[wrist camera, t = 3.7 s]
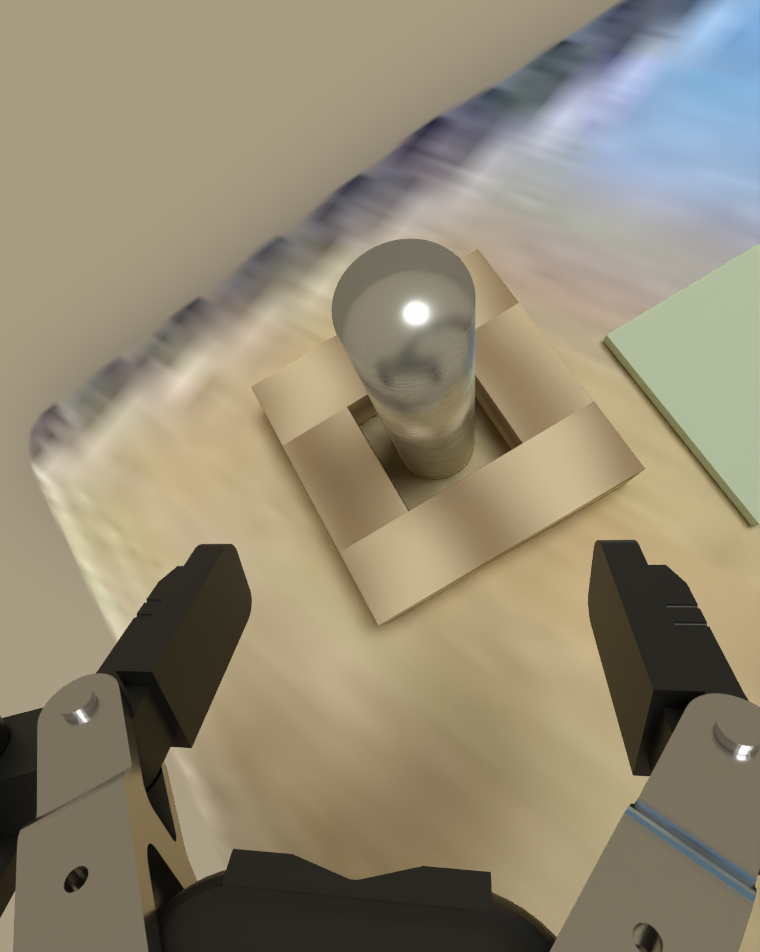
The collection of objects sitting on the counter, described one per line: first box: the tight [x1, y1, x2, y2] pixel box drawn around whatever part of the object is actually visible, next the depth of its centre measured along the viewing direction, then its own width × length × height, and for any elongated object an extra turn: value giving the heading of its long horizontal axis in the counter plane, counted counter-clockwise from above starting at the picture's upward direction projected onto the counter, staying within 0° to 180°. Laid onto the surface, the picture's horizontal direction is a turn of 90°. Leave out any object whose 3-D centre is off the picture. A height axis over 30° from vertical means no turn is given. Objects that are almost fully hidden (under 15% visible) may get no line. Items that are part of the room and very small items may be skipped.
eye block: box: [251, 249, 645, 625], centre depth 23 cm, size 12×12×2 cm
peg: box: [332, 239, 476, 479], centre depth 19 cm, size 4×4×12 cm
